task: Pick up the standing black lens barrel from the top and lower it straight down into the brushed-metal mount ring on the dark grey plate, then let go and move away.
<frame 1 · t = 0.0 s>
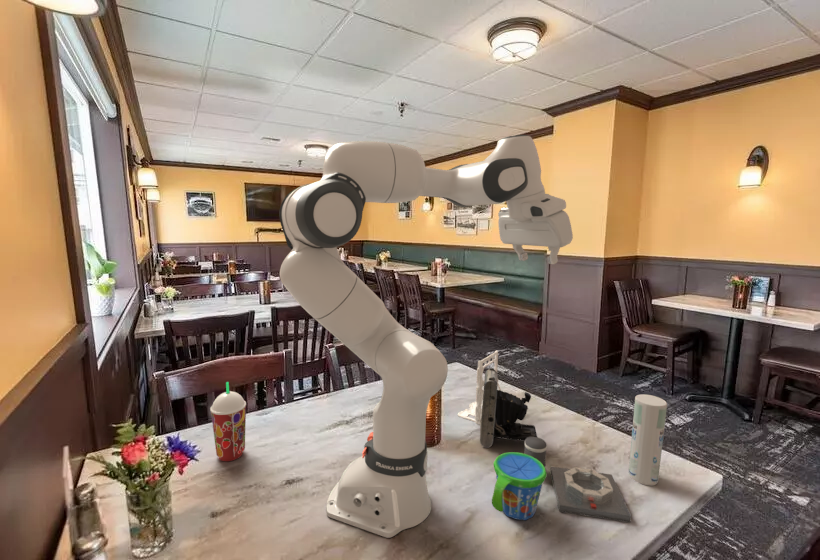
hand: (537, 261, 96), 52 cm above the table, fingers open, 8 cm apart
mount plate: (586, 494, 90), on the table
vintage camera: (507, 442, 112), on the table
spray can: (642, 478, 96), on the table
snack cup: (517, 510, 85), on the table
lens: (533, 472, 98), on the table
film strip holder: (483, 415, 128), on the table
smoothie: (231, 456, 103), on the table
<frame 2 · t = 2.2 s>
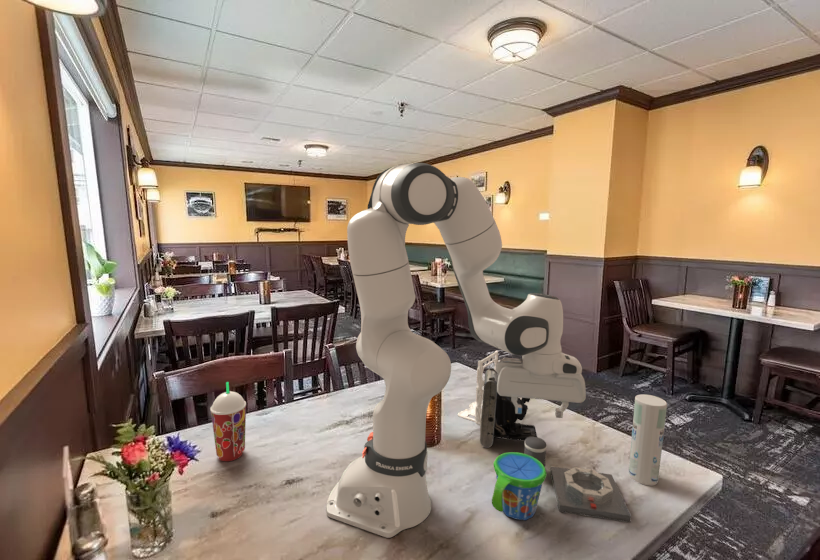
hand: (538, 414, 96), 15 cm above the table, fingers open, 8 cm apart
nothing on the table moved.
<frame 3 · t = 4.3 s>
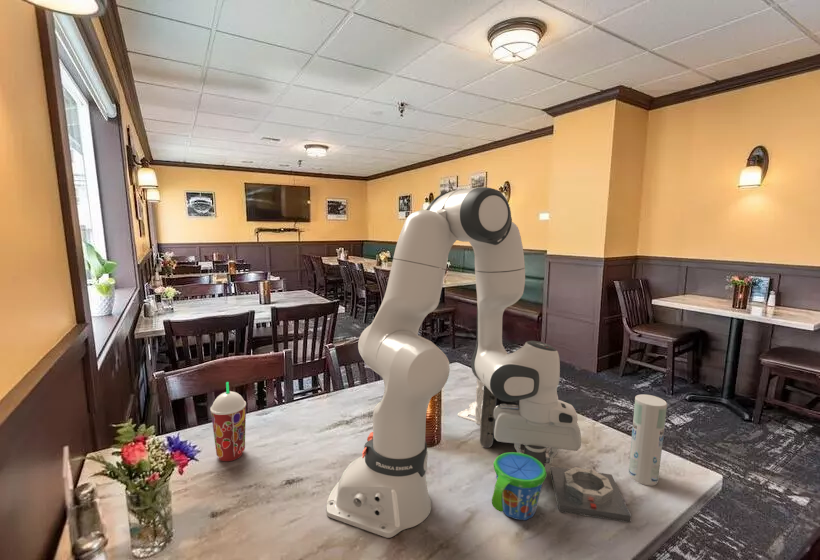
hand: (534, 460, 97), 3 cm above the table, fingers closed on lens, 5 cm apart
lens: (533, 472, 98), on the table, touching gripper
everything else where it was.
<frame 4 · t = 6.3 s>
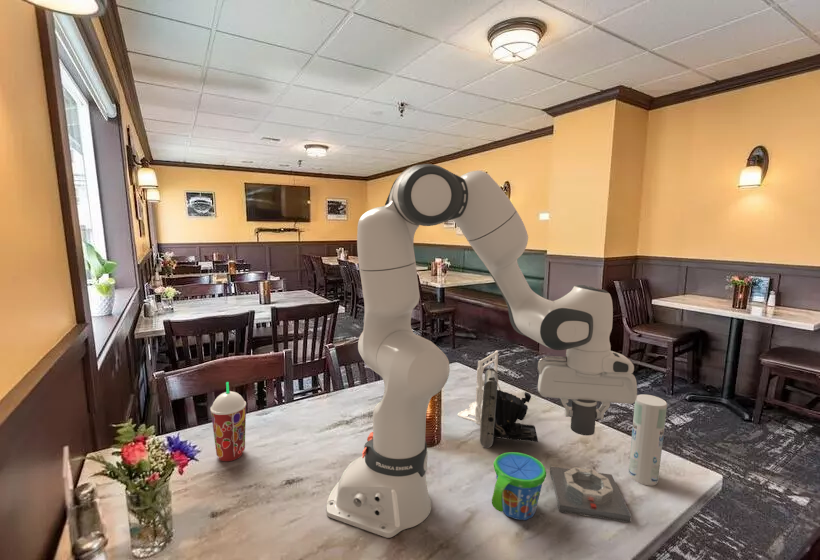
hand: (583, 417, 89), 18 cm above the table, fingers closed on lens, 5 cm apart
lens: (582, 429, 90), point 15 cm above the table, touching gripper
everything else where it was.
when the fingers open (6 cm above the table, at t = 8.7 s): lens stays where it is, resting on mount plate.
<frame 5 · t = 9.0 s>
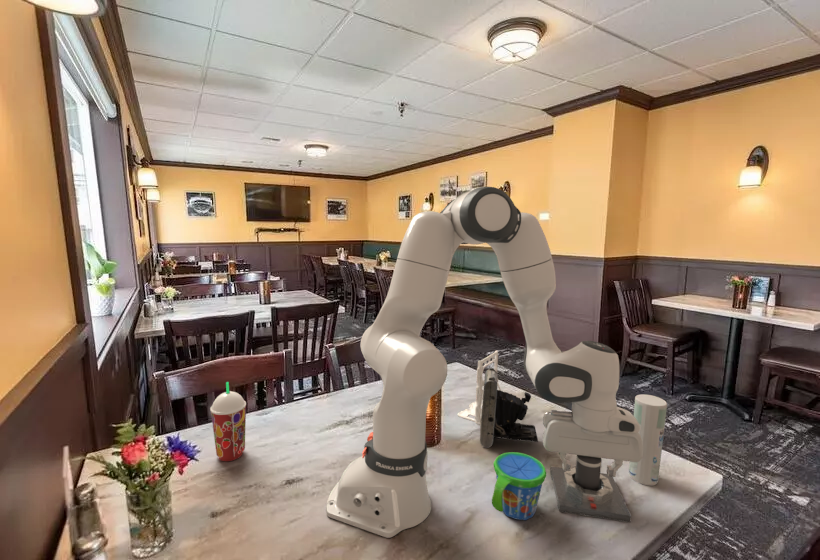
hand: (588, 472, 89), 6 cm above the table, fingers open, 8 cm apart
lens: (586, 488, 90), point 1 cm above the table, touching mount plate
everything else where it was.
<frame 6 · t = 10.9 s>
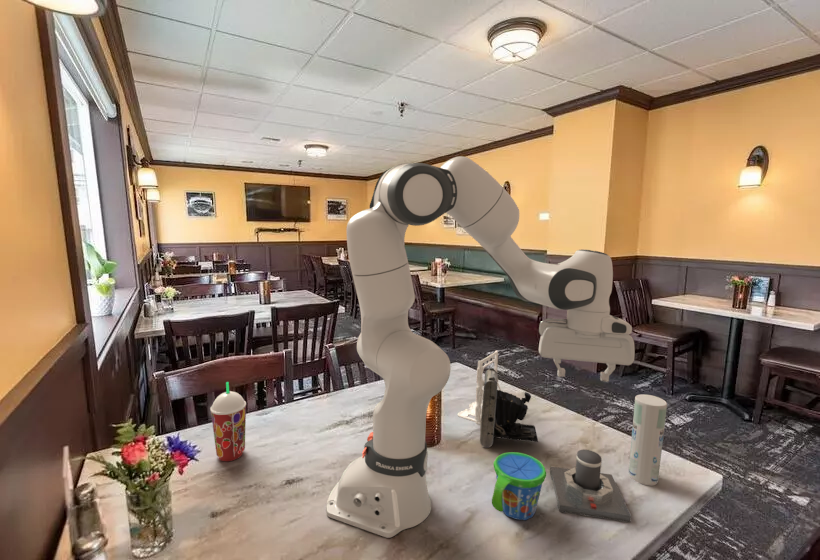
hand: (582, 378, 92), 25 cm above the table, fingers open, 8 cm apart
nothing on the table moved.
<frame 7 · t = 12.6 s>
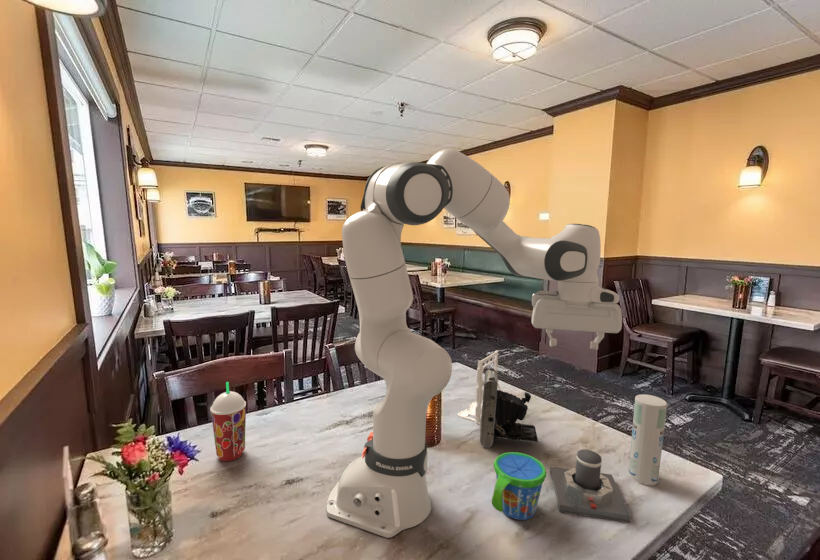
hand: (573, 347, 97), 31 cm above the table, fingers open, 8 cm apart
nothing on the table moved.
at the end: lens 0.1 cm off-centre on the mount plate, point 1.5 cm above the mount plate's base; lens tilted 0°; the gripper is holding nothing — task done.
